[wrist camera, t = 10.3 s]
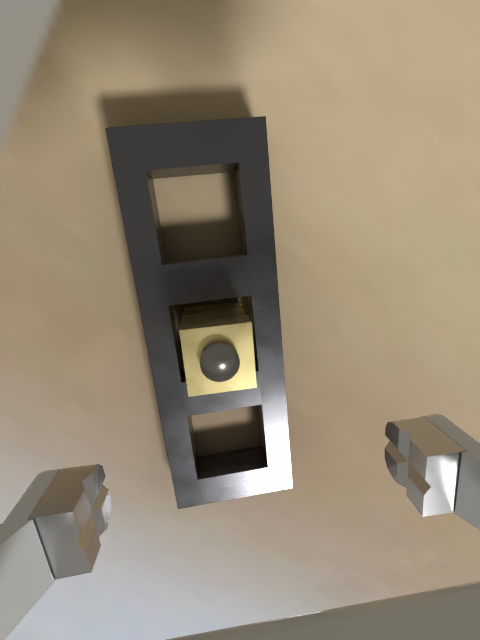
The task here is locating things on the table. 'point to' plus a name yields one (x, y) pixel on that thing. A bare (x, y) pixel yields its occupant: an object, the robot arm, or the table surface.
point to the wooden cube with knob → (217, 349)
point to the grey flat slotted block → (207, 297)
